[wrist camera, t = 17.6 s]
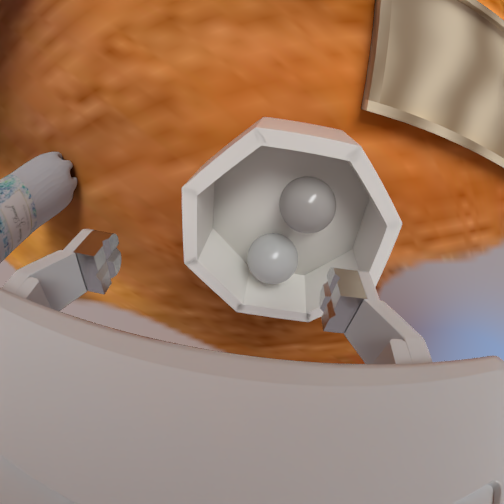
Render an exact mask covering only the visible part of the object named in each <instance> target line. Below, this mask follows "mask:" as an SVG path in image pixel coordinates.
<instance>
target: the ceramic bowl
mask: <svg viewBox="0 0 504 504" xmlns="http://www.w3.org/2000/svg"><path fill="white" fill-rule="evenodd" d="M303 176H311V177H316V178H318V179H321V180H322V181H324V182H325V183H326V184H328V186H329V187H330V188H331V189H332V191H333V193H334V195H335V199H336V212H335V216H334V218H333V220H332V221H331V223H330V224H329V225H328V226H327V227H326V228H324V229H323V230H321V231H319V232H316V233H311V234H305V233H300V232H297V231H295V230H293V229H292V228H290V227H289V226H288V225H287V224H286V223H285V221H284V220H283V218H282V216H281V213H280V209H279V199H280V196H281V193H282V191H283V189H284V188H285V186H286V185H287V184H288V183H289V182H291V181H292V180H294V179H296V178H299V177H303ZM182 224H183V249H184V264H185V265H187V266H188V267H189V268H190V269H191V270H192V271H193V272H194V273H195V274H196V275H197V276H198V277H199V278H200V279H201V280H202V281H203V282H204V283H206V284H207V285H208V286H209V287H210V288H211V289H212V290H213V291H214V292H215V293H216V294H217V295H219V296H220V297H221V298H222V299H223V300H224V301H225V302H226V303H227V304H228V305H230V306H231V307H232V308H233V309H234V310H235V311H236V312H240V313H246V314H253V315H259V316H266V317H273V318H280V319H288V320H295V321H303V322H310V321H312V320H314V319H316V318H319V317H321V316H322V315H323V313H324V312H323V311H322V310H321V309H320V304H319V298H320V292H321V289H322V286H323V284H325V283H326V282H327V281H328V279H327V273H328V271H329V269H330V268H331V267H334V268H341V269H348V270H359V271H367V272H369V273H370V276H371V278H372V281H373V283H374V286H375V287H376V285H377V282H378V280H379V278H380V276H381V274H382V272H383V269H384V267H385V265H386V263H387V260H388V258H389V256H390V253H391V251H392V249H393V246H394V244H395V241H396V239H397V236H398V234H399V231H400V229H401V226H402V221H401V219H400V217H399V215H398V213H397V211H396V209H395V207H394V205H393V203H392V201H391V199H390V197H389V195H388V193H387V191H386V189H385V187H384V186H383V184H382V182H381V180H380V178H379V176H378V175H377V173H376V171H375V169H374V168H373V166H372V164H371V162H370V161H369V159H368V157H367V156H366V154H365V152H364V151H363V149H362V147H361V146H360V145H359V144H358V143H357V142H355V141H354V140H353V139H352V138H351V137H350V136H348V135H347V134H346V133H345V132H344V131H342V130H338V129H334V128H329V127H324V126H319V125H314V124H308V123H303V122H297V121H291V120H284V119H277V118H270V117H263V118H261V119H260V120H259V121H257V122H256V123H255V124H253V125H252V126H251V127H249V128H248V129H247V130H245V131H244V132H243V133H241V134H240V135H239V136H238V137H236V138H235V139H234V140H232V141H231V142H230V143H229V144H227V145H226V146H225V147H224V148H223V149H221V150H220V151H219V152H218V153H216V154H215V155H214V156H213V157H212V158H210V159H209V160H208V161H207V162H206V163H205V164H204V165H203V166H202V167H201V168H200V169H199V170H198V171H197V172H196V173H195V174H194V175H193V176H192V177H191V178H190V179H189V180H188V181H187V183H186V184H185V185H184V186H183V187H182ZM268 233H278V234H281V235H284V236H286V237H287V238H289V239H290V240H291V241H292V242H293V244H294V245H295V247H296V249H297V252H298V265H297V268H296V270H295V272H294V274H293V275H292V276H291V277H290V278H289V279H288V280H286V281H284V282H282V283H279V284H267V283H263V282H261V281H259V280H258V279H256V278H255V277H254V276H253V274H252V273H251V271H250V270H249V267H248V263H247V254H248V250H249V248H250V246H251V244H252V243H253V242H254V241H255V240H256V239H257V238H258V237H260V236H262V235H264V234H268Z"/></svg>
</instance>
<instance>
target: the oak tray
mask: <svg viewBox="0 0 504 504" xmlns="http://www.w3.org/2000/svg"><path fill="white" fill-rule="evenodd" d="M361 109H363V110H366V111H369V112H373V113H376V114H380V115H383V116H386V117H389V118H393V119H396V120H399V121H402V122H405V123H407V124H410V125H413V126H416V127H418V128H421V129H424V130H426V131H429V132H431V133H434V134H436V135H439V136H441V137H443V138H446V139H448V140H450V141H453V142H455V143H457V144H459V145H461V146H463V147H465V148H468V149H470V150H472V151H474V152H476V153H478V154H480V155H481V156H483V157H485V158H487V159H489V160H491V161H493V162H494V163H496V164H498V165H500V166H501V167H503V168H504V20H502V19H501V18H500V17H499V16H497V15H496V14H495V13H493V12H492V11H491V10H489V9H488V8H487V7H485V6H484V5H482V4H481V3H480V2H478V1H477V0H375V9H374V21H373V31H372V40H371V48H370V56H369V63H368V70H367V77H366V83H365V89H364V95H363V101H362V107H361Z"/></svg>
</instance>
